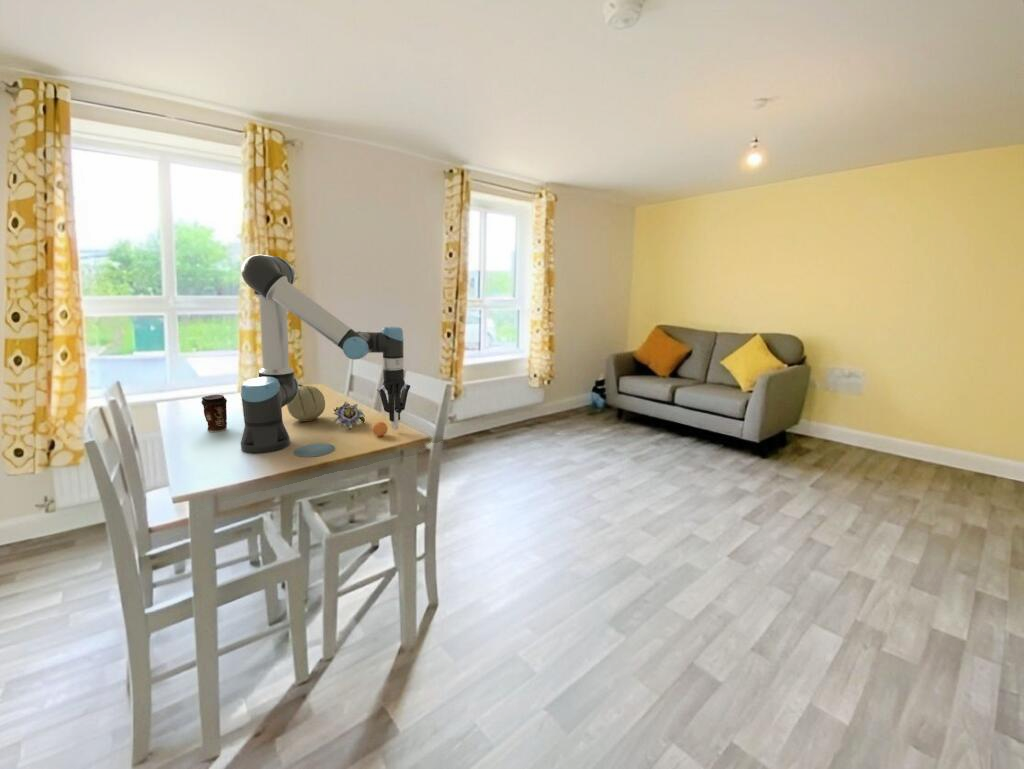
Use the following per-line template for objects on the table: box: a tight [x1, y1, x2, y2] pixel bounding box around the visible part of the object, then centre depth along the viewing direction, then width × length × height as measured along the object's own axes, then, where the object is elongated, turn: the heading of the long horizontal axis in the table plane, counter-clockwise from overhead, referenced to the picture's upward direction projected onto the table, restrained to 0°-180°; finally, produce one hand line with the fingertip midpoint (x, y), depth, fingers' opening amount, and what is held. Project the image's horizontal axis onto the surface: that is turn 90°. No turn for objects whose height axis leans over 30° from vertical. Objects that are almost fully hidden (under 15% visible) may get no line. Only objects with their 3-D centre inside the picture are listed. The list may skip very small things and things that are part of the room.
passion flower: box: [333, 401, 366, 429], centre depth 188 cm, size 11×11×12 cm
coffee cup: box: [200, 394, 228, 433], centre depth 179 cm, size 9×8×13 cm
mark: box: [293, 442, 336, 458], centre depth 161 cm, size 13×13×1 cm
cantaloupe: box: [286, 383, 326, 422], centre depth 193 cm, size 15×15×15 cm
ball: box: [371, 421, 388, 437], centre depth 176 cm, size 6×6×6 cm
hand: (395, 428), depth 181 cm, fingers closed
